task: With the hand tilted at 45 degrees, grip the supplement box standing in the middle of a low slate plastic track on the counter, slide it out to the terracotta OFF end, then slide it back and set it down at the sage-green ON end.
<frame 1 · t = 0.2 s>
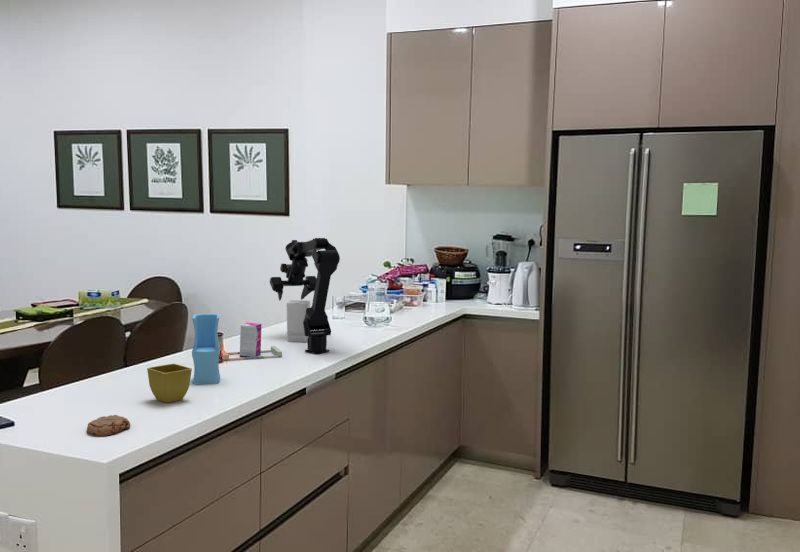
hand: (290, 299, 294), 15 cm above the worktop, tool tilted 35°, fingers open, 9 cm apart
supplement box: (250, 356, 258), resting in breaker track
flower pot: (169, 400, 202), on the worktop
breaker track: (250, 356, 258), on the worktop
cookie: (108, 431, 177), on the worktop
light blue tall piece: (206, 381, 224), on the worktop
skincare box: (298, 341, 287), on the worktop
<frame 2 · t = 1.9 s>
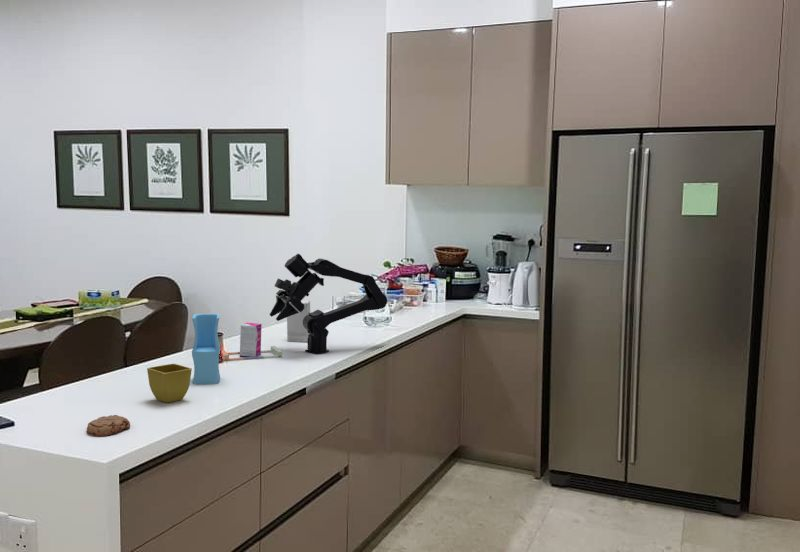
hand: (273, 317, 260), 13 cm above the worktop, tool tilted 45°, fingers open, 9 cm apart
nothing on the worktop moved.
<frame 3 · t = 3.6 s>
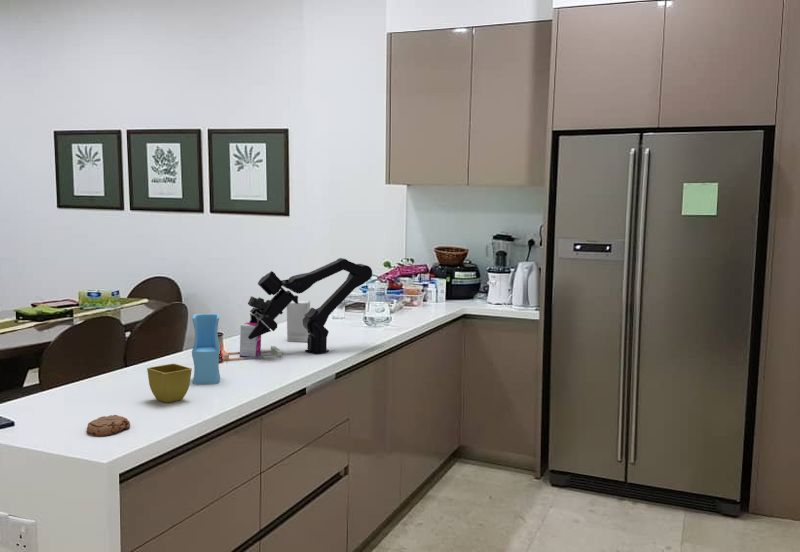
hand: (246, 336, 257), 7 cm above the worktop, tool tilted 45°, fingers closed on supplement box, 8 cm apart
supplement box: (250, 356, 258), resting in breaker track, touching gripper
everything else where it was.
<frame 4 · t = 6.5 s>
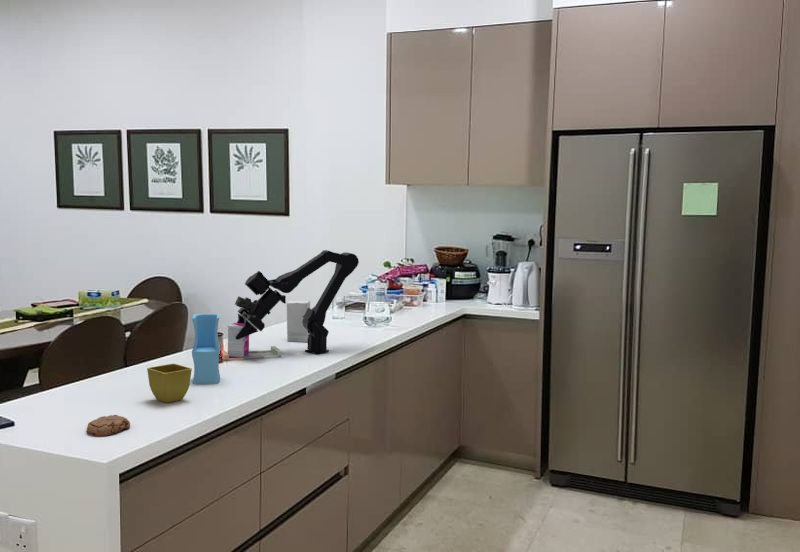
hand: (233, 336, 255), 7 cm above the worktop, tool tilted 45°, fingers closed on supplement box, 8 cm apart
supplement box: (238, 357, 257), resting in breaker track, touching gripper
everything else where it was.
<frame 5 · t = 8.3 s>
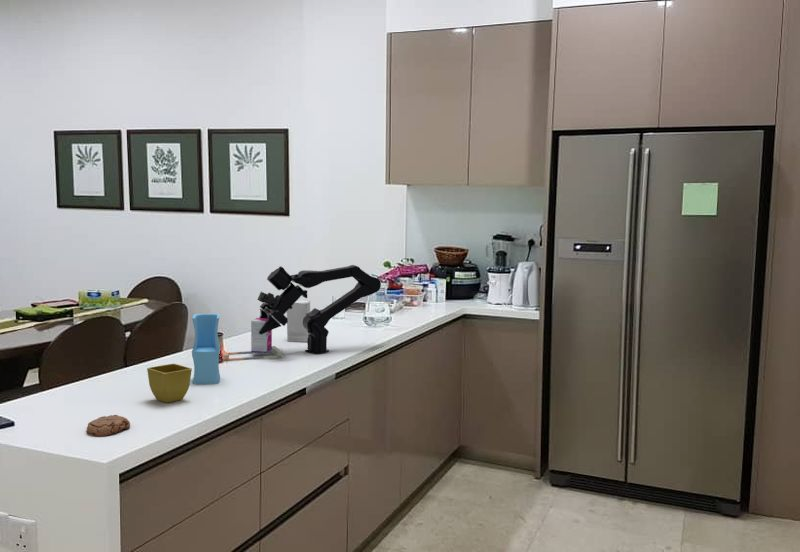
hand: (257, 331, 258), 9 cm above the worktop, tool tilted 45°, fingers closed on supplement box, 8 cm apart
supplement box: (261, 351, 260), point 1 cm above the worktop, touching gripper
everything else where it was.
when the fingers open (8 cm above the worktop, at t = 9.5 s): supplement box stays where it is, resting in breaker track.
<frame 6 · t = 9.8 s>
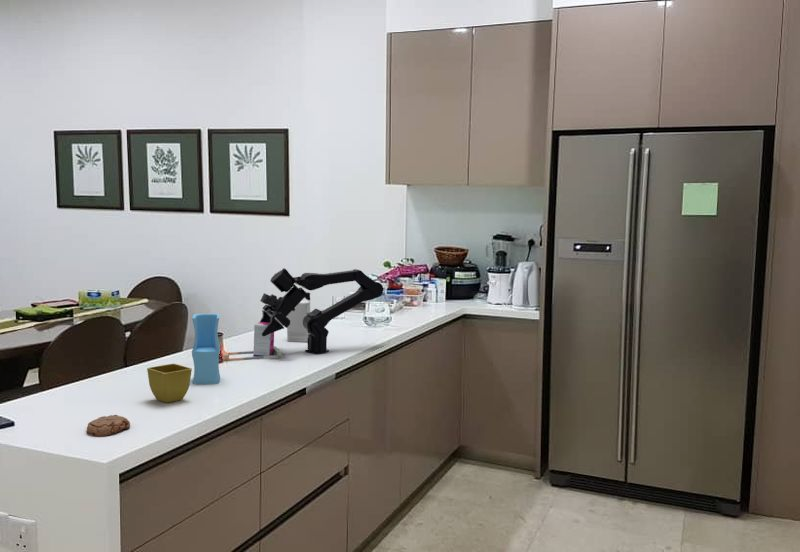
hand: (259, 333, 259), 8 cm above the worktop, tool tilted 45°, fingers open, 9 cm apart
supplement box: (263, 355, 260), resting in breaker track
everything else where it was.
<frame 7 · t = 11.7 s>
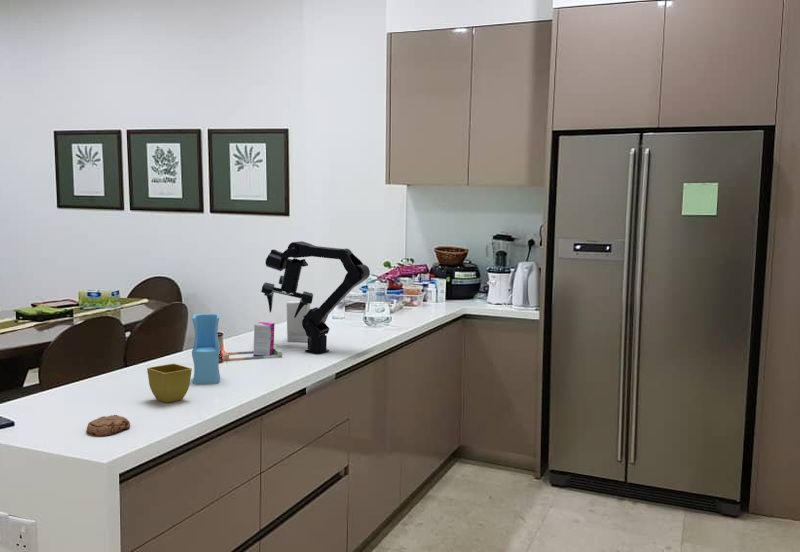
hand: (282, 315, 271), 12 cm above the worktop, tool pointing down, fingers open, 9 cm apart
nothing on the worktop moved.
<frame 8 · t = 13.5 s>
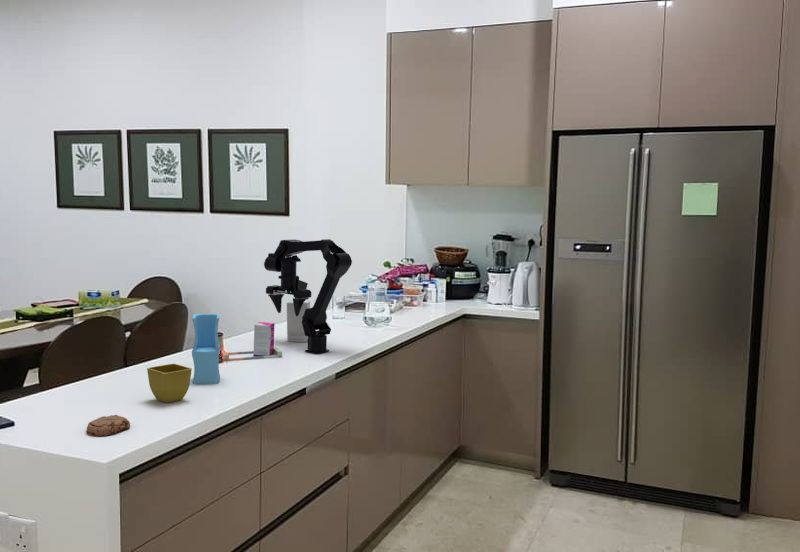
hand: (288, 314, 276), 12 cm above the worktop, tool pointing down, fingers open, 9 cm apart
nothing on the worktop moved.
at the end: supplement box 0.2 cm from the target spot, resting in breaker track; supplement box tilted 0°; the gripper is holding nothing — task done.
